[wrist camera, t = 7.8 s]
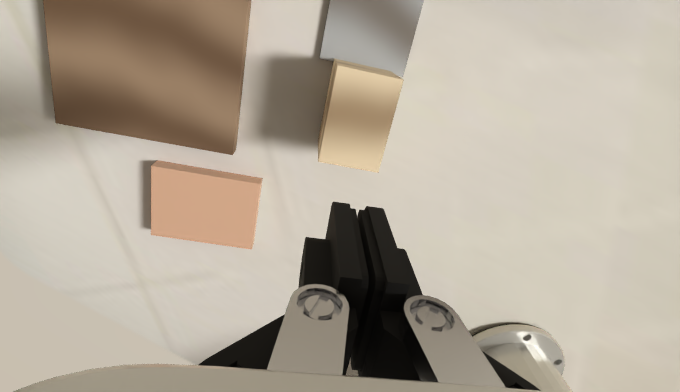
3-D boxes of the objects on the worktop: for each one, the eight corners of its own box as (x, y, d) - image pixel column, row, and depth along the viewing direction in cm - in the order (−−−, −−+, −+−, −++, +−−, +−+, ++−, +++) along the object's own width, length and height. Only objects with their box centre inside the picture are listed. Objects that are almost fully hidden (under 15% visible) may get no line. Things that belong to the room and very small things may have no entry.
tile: (251, 249, 31) (151, 234, 30) (254, 239, 32) (158, 224, 31) (260, 184, 28) (151, 165, 27) (263, 176, 30) (159, 158, 29)
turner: (381, 151, 29) (392, 175, 25) (305, 137, 28) (302, 158, 24) (431, -35, 24) (458, -49, 19) (340, -60, 23) (346, -80, 19)
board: (235, 149, 28) (232, 154, 27) (66, 118, 27) (55, 123, 26) (258, -67, 23) (255, -71, 22) (44, -123, 21) (29, -131, 20)
